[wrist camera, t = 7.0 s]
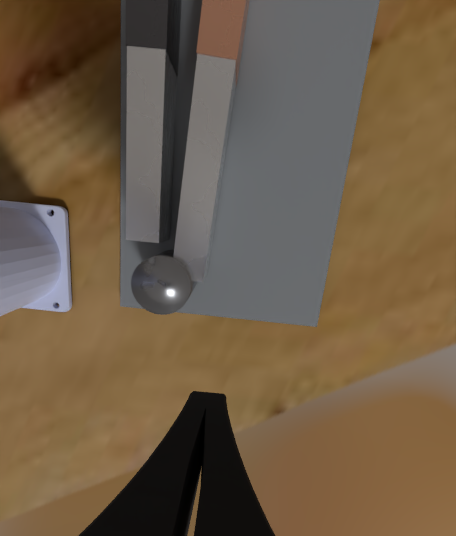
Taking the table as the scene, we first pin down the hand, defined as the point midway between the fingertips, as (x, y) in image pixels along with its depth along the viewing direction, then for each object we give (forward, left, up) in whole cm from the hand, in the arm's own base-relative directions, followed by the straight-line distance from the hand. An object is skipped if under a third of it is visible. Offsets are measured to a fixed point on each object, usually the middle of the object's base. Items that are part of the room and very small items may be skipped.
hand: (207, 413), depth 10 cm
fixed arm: (-5, +14, -9) cm, 17 cm away
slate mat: (0, +12, -9) cm, 16 cm away
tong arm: (-3, +12, -9) cm, 15 cm away
